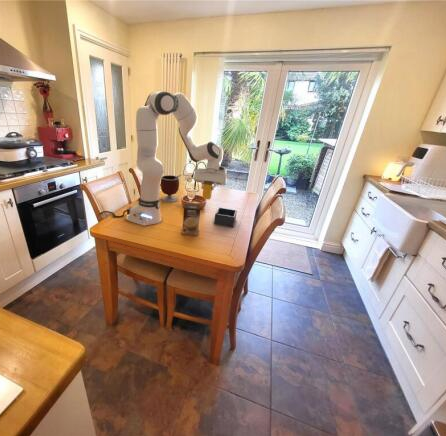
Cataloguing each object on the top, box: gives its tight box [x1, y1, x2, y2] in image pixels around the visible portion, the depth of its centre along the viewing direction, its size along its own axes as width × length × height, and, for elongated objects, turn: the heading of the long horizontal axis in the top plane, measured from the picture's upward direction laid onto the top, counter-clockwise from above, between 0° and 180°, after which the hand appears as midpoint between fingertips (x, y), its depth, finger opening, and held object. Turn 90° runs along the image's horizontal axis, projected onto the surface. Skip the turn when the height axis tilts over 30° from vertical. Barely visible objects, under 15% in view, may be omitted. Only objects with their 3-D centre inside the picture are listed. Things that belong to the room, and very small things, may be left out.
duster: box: [202, 181, 214, 200], centre depth 143 cm, size 5×5×10 cm
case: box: [213, 207, 238, 228], centre depth 145 cm, size 12×12×7 cm
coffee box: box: [181, 203, 201, 236], centre depth 129 cm, size 9×6×16 cm
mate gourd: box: [160, 174, 182, 203], centre depth 176 cm, size 16×14×20 cm
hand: (207, 189), depth 142 cm, fingers closed on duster, 4 cm apart
